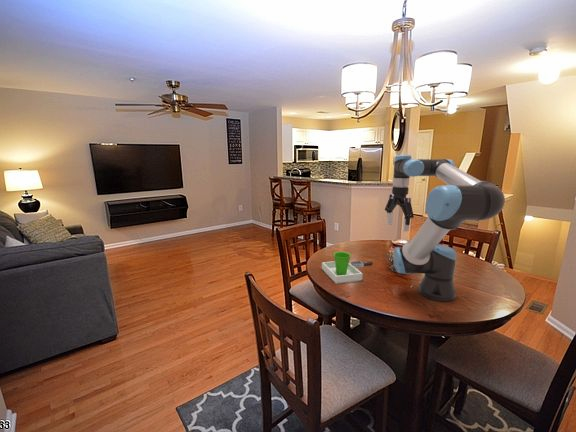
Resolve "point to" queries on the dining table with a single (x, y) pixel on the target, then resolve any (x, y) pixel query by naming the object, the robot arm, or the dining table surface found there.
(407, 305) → the dining table surface
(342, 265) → the cup
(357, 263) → the scoop
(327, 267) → the bin
